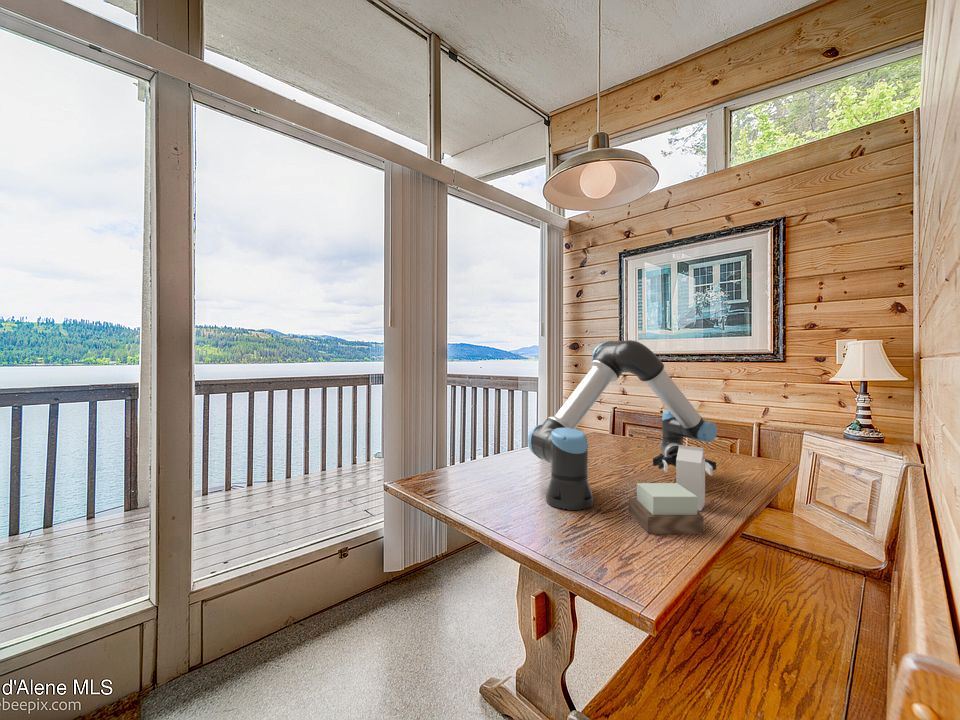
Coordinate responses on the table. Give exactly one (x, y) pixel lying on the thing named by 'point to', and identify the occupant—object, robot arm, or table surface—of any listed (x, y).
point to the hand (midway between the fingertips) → (688, 470)
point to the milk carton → (691, 472)
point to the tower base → (665, 520)
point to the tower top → (666, 499)
